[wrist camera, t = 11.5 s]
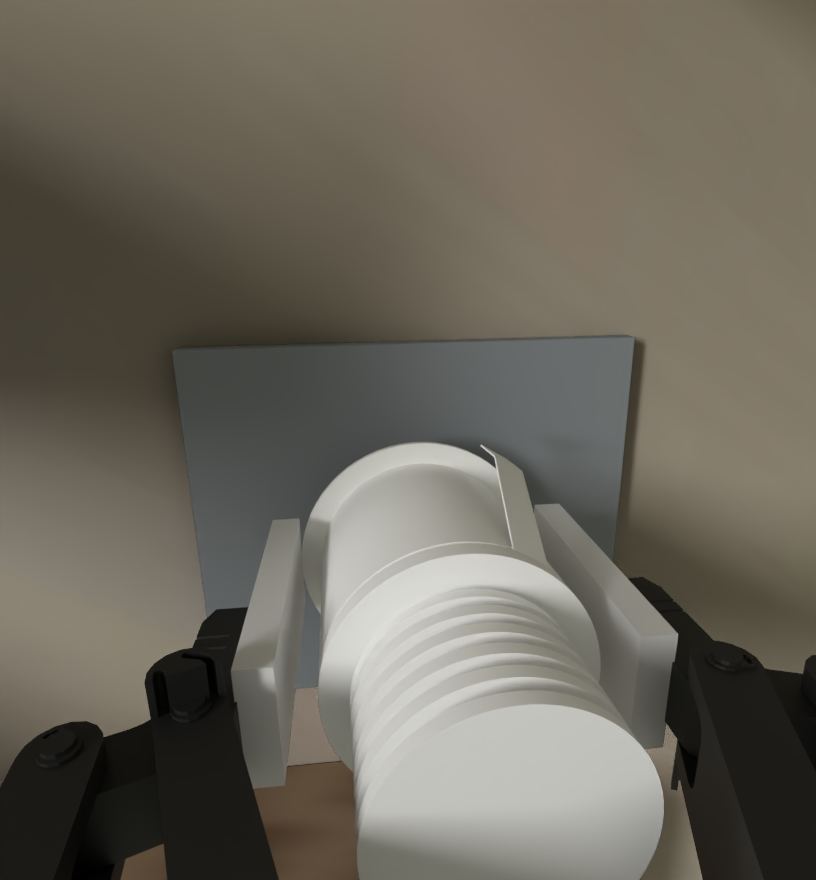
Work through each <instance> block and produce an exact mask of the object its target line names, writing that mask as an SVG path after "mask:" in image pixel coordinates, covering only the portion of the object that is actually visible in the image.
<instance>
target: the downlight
mask: <svg viewBox="0 0 816 880" xmlns="http://www.w3.org/2000/svg"><path fill="white" fill-rule="evenodd" d="M480 446H481V447H482V448H483V449H485V450H486V451H487V452H488V453H490V454H491V455H492V456H493V457H494V459H495V464H496V468H495V467H493V466H492V465H491V464H490V463H488V462H487V461H485V460H484V459H482V458H481V457H479V456H477V455H475V454H473V453H471V452H469V451H467V450H464V449H461V448H459V447H455V446H452V445H448V444H442V443H436V442H410V443H403V444H398V445H393V446H389V447H386V448H383V449H380V450H377V451H375V452H373V453H370V454H368V455H366V456H364V457H363V458H361V459H359V460H357V461H356V462H354V463H353V464H351V465H350V466H348V467H347V468H346V469H345V470H343V471H342V472H341V473H340V474H339V475H338V476H337V477H336V478H335V479H334V480H333V481H332V482H331V483H330V484H329V485H328V486H327V488H326V489H325V490H324V491H323V493H322V494H321V496H320V497H319V499H318V500H317V502H316V504H315V506H314V508H313V510H312V512H311V514H310V517H309V519H308V522H307V525H306V529H305V533H304V539H303V545H302V560H303V573H304V579H305V583H306V586H307V589H308V592H309V594H310V597H311V599H312V601H313V603H314V605H315V606H316V608H317V610H318V611H319V612H320V614H321V620H320V651H319V681H318V705H319V712H320V717H321V721H322V725H323V728H324V731H325V733H326V736H327V738H328V740H329V742H330V744H331V746H332V747H333V749H334V751H335V752H336V754H337V755H338V756H339V758H340V759H341V760H342V762H343V763H344V764H345V765H346V766H347V767H348V768H349V769H350V770H351V771H352V772H353V784H354V804H355V827H356V848H357V868H358V874H359V879H360V880H640V878H641V877H642V875H643V874H644V872H645V870H646V869H647V867H648V865H649V863H650V861H651V859H652V857H653V855H654V853H655V850H656V847H657V845H658V842H659V839H660V834H661V830H662V825H663V817H664V800H663V791H662V787H661V782H660V779H659V776H658V773H657V771H656V768H655V766H654V764H653V762H652V761H651V759H650V757H649V756H648V754H647V753H646V751H645V750H644V748H643V747H642V745H641V744H640V742H639V741H638V740H637V738H636V737H635V735H634V734H633V733H632V731H631V730H630V728H629V726H628V725H627V724H626V722H625V721H624V719H623V718H622V716H621V715H620V713H619V712H618V711H617V709H616V708H615V706H614V705H613V703H612V702H611V700H610V699H609V697H608V696H607V694H606V693H605V692H604V690H603V689H602V687H601V686H600V684H599V680H600V668H601V665H600V650H599V643H598V639H597V635H596V632H595V629H594V626H593V624H592V621H591V619H590V617H589V615H588V613H587V611H586V610H585V608H584V607H583V605H582V604H581V602H580V601H579V600H578V598H577V597H576V596H575V595H574V594H573V592H572V591H571V590H570V589H569V588H568V586H567V585H566V584H565V583H564V581H563V580H562V579H561V578H560V576H559V575H558V574H557V573H556V572H555V570H554V569H553V568H552V567H551V565H550V564H549V563H548V562H547V560H546V556H545V553H544V549H543V545H542V542H541V538H540V534H539V530H538V527H537V523H536V519H535V516H534V512H533V508H532V505H531V501H530V497H529V493H528V490H527V486H526V482H525V479H524V475H523V471H522V470H521V469H519V468H518V467H517V466H515V465H514V464H513V463H511V462H510V461H509V460H508V459H506V458H504V457H503V456H501V455H499V454H497V453H495V452H494V451H492V450H490V449H488V448H487V447H485V446H483V445H480Z"/></svg>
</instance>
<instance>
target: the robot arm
mask: <svg viewBox="0 0 816 880" xmlns="http://www.w3.org/2000/svg"><path fill="white" fill-rule="evenodd" d="M534 516H535V519H536V523H537V527H538V530H539V534H540V538H541V542H542V545H543V549H544V553H545V556H546V560H547V562H548V563H549V564H550V565H551V567H552V568H553V569H554V570H555V572H556V573H557V574H558V575H559V576H560V578H561V579H562V580H563V581H564V583H565V584H566V585H567V586H568V588H569V589H570V590H571V591H572V592H573V594H574V595H575V596H576V597H577V598H578V600H579V601H580V602H581V604H582V605H583V607H584V608H585V610H586V611H587V613H588V615H589V617H590V619H591V621H592V624H593V626H594V629H595V632H596V635H597V639H598V643H599V650H600V665H601V668H600V680H599V684H600V686H601V687H602V689H603V690H604V692H605V693H606V694H607V696H608V697H609V699H610V700H611V702H612V703H613V705H614V706H615V708H616V709H617V711H618V712H619V713H620V715H621V716H622V718H623V719H624V721H625V722H626V724H627V725H628V726H629V728H630V730H631V731H632V733H633V734H634V735H635V737H636V738H637V740H638V741H639V742H640V744H641V745H642V747H643V748H644V749H648V748H658V747H663V742H664V735H665V728H666V723H667V725H668V726H669V728H670V729H671V730H672V732H673V733H674V735H675V736H676V738H677V739H678V740H677V747H676V753H675V760H674V767H673V774H672V782H671V789H674V790H677V787H678V781H679V780H680V781H681V785H682V790H683V794H684V799H685V803H686V807H687V812H688V816H689V821H690V825H691V829H692V834H693V838H694V842H695V847H696V851H697V856H698V860H699V864H700V869H701V873H702V877H703V880H816V655H812V656H811V657H809V658H808V659H807V660H806V662H805V667H804V671H803V674H799V673H791V672H784V671H776V670H769V669H764V667H763V665H762V664H761V663H760V662H759V661H758V659H757V658H756V657H755V656H753V655H752V654H750V653H749V652H747V651H746V650H744V649H742V648H740V647H737V646H735V645H732V644H729V643H724V642H720V641H714V640H713V639H712V638H711V637H710V636H709V635H708V634H707V633H706V632H705V631H704V630H703V629H702V628H701V627H700V626H699V625H698V624H697V623H696V622H695V621H694V620H693V619H692V618H691V617H690V616H689V615H688V614H687V613H686V612H683V609H682V608H681V607H680V606H679V605H678V604H677V603H676V602H673V599H672V598H671V597H670V596H669V595H668V594H667V593H666V592H665V591H664V590H663V589H662V588H661V587H659V586H657V585H656V584H654V583H652V582H650V581H648V580H647V579H645V578H643V577H640V578H627V577H626V576H625V575H624V574H623V573H622V572H621V571H620V570H619V569H618V568H617V566H616V565H615V564H614V563H613V562H612V561H611V560H610V559H609V558H608V557H607V556H606V554H605V553H604V552H603V551H602V550H601V549H600V548H599V547H598V546H597V545H596V543H595V542H594V541H593V540H592V539H591V538H590V537H589V536H588V535H587V534H586V533H585V531H584V530H583V529H582V528H581V527H580V526H579V525H578V524H577V523H576V522H575V521H574V519H573V518H572V517H571V516H570V515H569V514H568V513H567V512H566V511H565V510H564V508H563V507H562V506H561V505H560V504H541V505H535V507H534ZM305 602H306V600H305V587H304V573H303V560H302V547H301V533H300V520H299V518H298V519H281V520H273V521H272V525H271V528H270V532H269V535H268V539H267V543H266V546H265V550H264V553H263V557H262V560H261V564H260V568H259V571H258V575H257V578H256V582H255V586H254V589H253V593H252V596H251V600H250V604H249V607H242V608H228V609H216V610H215V611H214V612H213V613H212V614H211V615H210V616H209V617H208V618H207V619H206V620H205V621H204V622H203V623H202V625H201V628H200V630H199V633H198V635H197V640H195V643H194V645H193V648H189V649H183V650H179V651H176V652H174V653H171V654H169V655H166V656H165V657H163V658H162V659H160V660H159V661H157V662H156V663H154V665H153V666H152V667H151V668H150V670H149V671H148V672H147V674H146V678H145V688H146V693H147V699H148V705H149V711H150V716H151V720H149V721H147V722H145V723H144V724H142V725H139V726H137V727H134V728H132V729H129V730H126V731H123V732H120V733H116V734H113V735H110V736H107V737H103V733H102V731H101V730H100V728H99V727H98V726H97V725H95V724H92V723H90V722H87V721H84V722H70V723H66V724H63V725H59V726H55V727H53V728H51V729H50V730H48V731H46V732H44V733H42V734H40V735H38V736H37V737H36V738H34V739H33V740H32V741H31V742H29V743H28V744H27V745H25V747H24V748H23V749H22V750H21V752H20V753H19V754H18V756H17V757H16V758H15V760H14V762H13V764H12V766H11V768H10V770H9V772H8V774H7V776H6V778H5V780H4V782H3V783H2V785H1V787H0V880H121V876H122V872H123V868H124V863H125V859H127V858H129V857H132V856H134V855H137V854H139V853H142V852H144V851H147V850H149V849H152V848H154V847H157V846H159V845H161V844H164V853H165V863H166V873H167V880H279V878H278V875H277V871H276V868H275V864H274V860H273V857H272V853H271V850H270V846H269V843H268V839H267V836H266V832H265V829H264V825H263V822H262V818H261V815H260V811H259V808H258V804H257V801H256V797H255V794H254V790H253V789H256V788H266V787H276V786H285V780H286V771H287V762H288V753H289V744H290V735H291V726H292V717H293V708H294V700H295V691H296V682H297V673H298V664H299V655H300V646H301V637H302V628H303V619H304V611H305Z"/></svg>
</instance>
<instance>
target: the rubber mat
mask: <svg viewBox="0 0 816 880" xmlns="http://www.w3.org/2000/svg"><path fill="white" fill-rule="evenodd" d="M634 339H635V337H632V336H628V335H608V336H573V337H537V338H502V339H466V340H431V341H396V342H360V343H325V344H290V345H254V346H219V347H184V348H176V349H174V350H172V356H173V364H174V371H175V379H176V386H177V394H178V402H179V409H180V417H181V424H182V432H183V440H184V447H185V455H186V462H187V470H188V477H189V485H190V493H191V500H192V508H193V515H194V523H195V530H196V538H197V546H198V553H199V561H200V568H201V576H202V584H203V591H204V599H205V606H206V614H207V618H208V617H209V616H210V615H211V614H212V613H213V612H214V611H215V610H216V609H228V608H242V607H249V604H250V600H251V596H252V593H253V589H254V586H255V582H256V578H257V575H258V571H259V568H260V564H261V560H262V557H263V553H264V550H265V546H266V543H267V539H268V535H269V532H270V528H271V525H272V521H273V520H281V519H298V518H299V520H300V533H301V547H302V545H303V539H304V533H305V529H306V525H307V522H308V519H309V517H310V514H311V512H312V510H313V508H314V506H315V504H316V502H317V500H318V499H319V497H320V496H321V494H322V493H323V491H324V490H325V489H326V488H327V486H328V485H329V484H330V483H331V482H332V481H333V480H334V479H335V478H336V477H337V476H338V475H339V474H340V473H341V472H342V471H343V470H345V469H346V468H347V467H348V466H350V465H351V464H353V463H354V462H356V461H357V460H359V459H361V458H363V457H364V456H366V455H368V454H370V453H373V452H375V451H377V450H380V449H383V448H386V447H389V446H393V445H398V444H403V443H410V442H436V443H442V444H448V445H452V446H455V447H459V448H461V449H464V450H467V451H469V452H471V453H473V454H475V455H477V456H479V457H481V458H482V459H484V460H485V461H487V462H488V463H490V464H491V465H492V466H493V467H495V468H496V464H495V459H494V457H493V456H492V455H491V454H490V453H488V452H487V451H486V450H485V449H483V448H482V447H481V446H480V445H483V446H485V447H487V448H488V449H490V450H492V451H494V452H495V453H497V454H499V455H501V456H503V457H504V458H506V459H508V460H509V461H510V462H511V463H513V464H514V465H515V466H517V467H518V468H519V469H521V470H522V471H523V475H524V479H525V482H526V486H527V490H528V493H529V497H530V501H531V505H532V508H533V512H534V507H535V505H541V504H560V505H561V506H562V507H563V508H564V510H565V511H566V512H567V513H568V514H569V515H570V516H571V517H572V518H573V519H574V521H575V522H576V523H577V524H578V525H579V526H580V527H581V528H582V529H583V530H584V531H585V533H586V534H587V535H588V536H589V537H590V538H591V539H592V540H593V541H594V542H595V543H596V545H597V546H598V547H599V548H600V549H601V550H602V551H603V552H604V553H605V554H606V556H607V557H608V558H609V559H610V560H611V561H612V562H613V558H614V547H615V537H616V526H617V516H618V506H619V495H620V485H621V474H622V464H623V454H624V443H625V433H626V422H627V412H628V402H629V391H630V381H631V370H632V360H633V350H634ZM304 587H305V600H306V602H305V611H304V619H303V628H302V637H301V646H300V655H299V664H298V673H297V682H296V689H298V688H310V687H318V681H319V651H320V620H321V614H320V612H319V611H318V610H317V608H316V606H315V605H314V603H313V601H312V599H311V597H310V594H309V592H308V589H307V586H306V583H305V579H304Z"/></svg>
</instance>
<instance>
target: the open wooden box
mask: <svg viewBox="0 0 816 880" xmlns="http://www.w3.org/2000/svg"><path fill="white" fill-rule="evenodd" d="M253 790H254V794H255V797H256V801H257V804H258V808H259V811H260V815H261V818H262V822H263V825H264V829H265V832H266V836H267V839H268V843H269V846H270V850H271V853H272V857H273V860H274V864H275V868H276V871H277V875H278V878H279V880H360V879H359V874H358V868H357V848H356V827H355V804H354V784H353V772H352V771H351V770H350V769H349V768H348V767H347V766H346V765H345V764H344V763H343V762H342V761H340V762H330V763H320V764H310V765H299V766H289V767H287V771H286V780H285V786H276V787H266V788H256V789H253ZM121 880H167V873H166V863H165V853H164V844H161V845H159V846H157V847H154V848H152V849H149V850H147V851H144V852H142V853H139V854H137V855H134V856H132V857H129V858H127V859H125V863H124V868H123V872H122V876H121Z"/></svg>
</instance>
